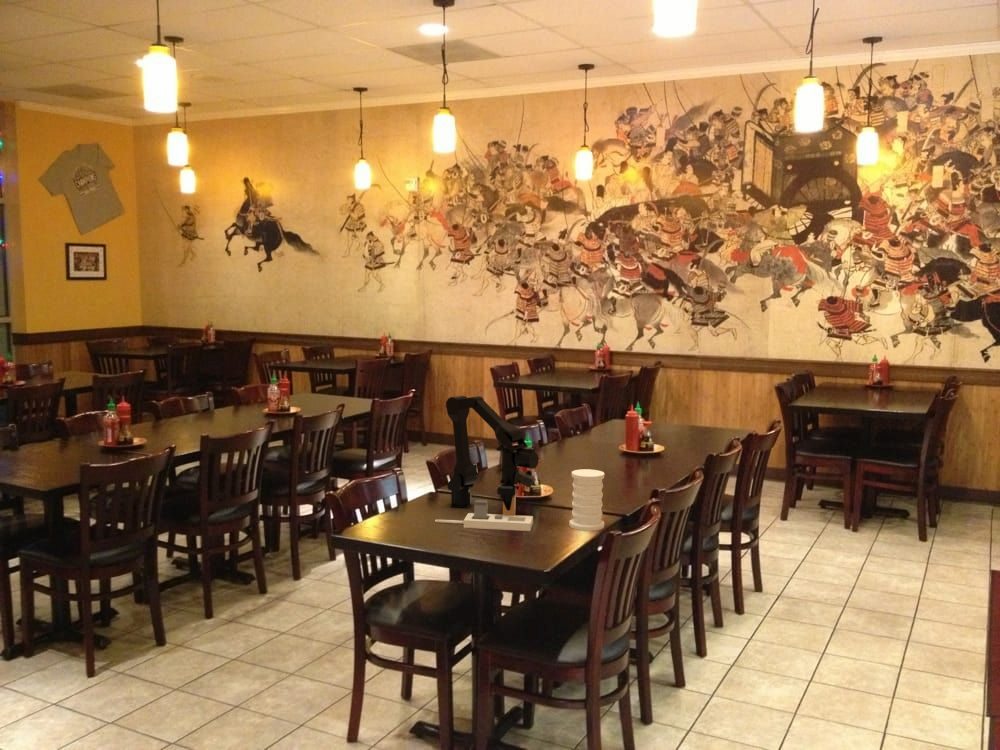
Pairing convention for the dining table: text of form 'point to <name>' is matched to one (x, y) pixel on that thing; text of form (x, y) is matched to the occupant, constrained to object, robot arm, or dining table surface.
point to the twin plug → (480, 509)
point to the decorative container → (587, 500)
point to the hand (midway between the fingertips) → (509, 509)
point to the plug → (512, 509)
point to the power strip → (495, 522)
